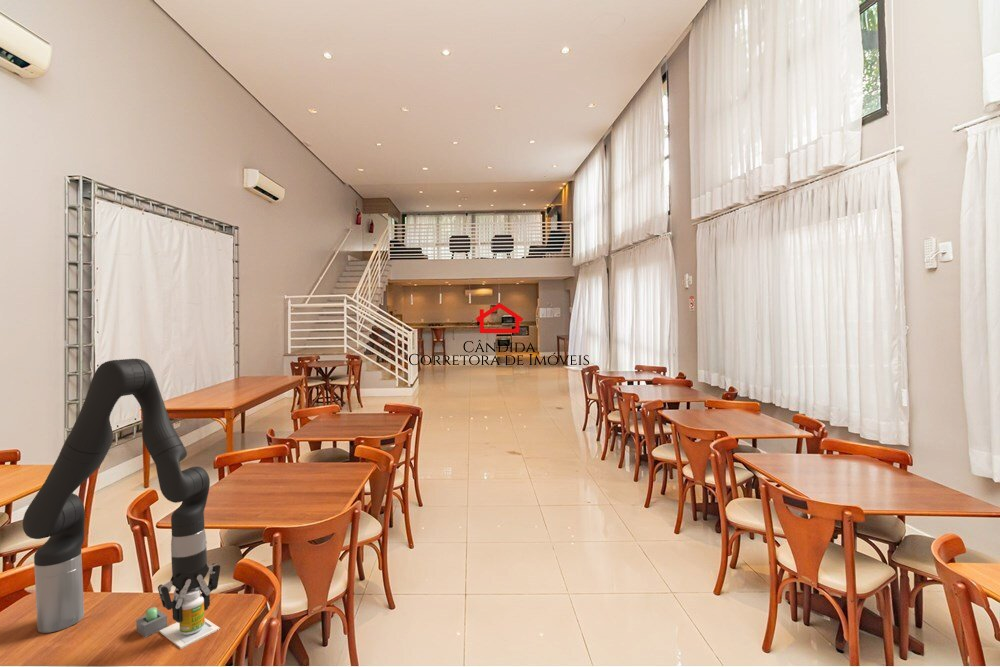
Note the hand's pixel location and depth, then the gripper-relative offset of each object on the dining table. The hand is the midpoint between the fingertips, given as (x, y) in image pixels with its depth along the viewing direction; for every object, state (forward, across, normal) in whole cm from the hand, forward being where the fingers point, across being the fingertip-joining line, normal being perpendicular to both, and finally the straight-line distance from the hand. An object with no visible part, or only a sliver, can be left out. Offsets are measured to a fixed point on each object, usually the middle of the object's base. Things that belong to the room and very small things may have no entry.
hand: (191, 614), depth 125 cm
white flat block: (+4, 0, -1) cm, 5 cm away
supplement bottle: (+4, 0, 0) cm, 4 cm away
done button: (+3, +5, -10) cm, 12 cm away
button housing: (+4, +5, -10) cm, 12 cm away
